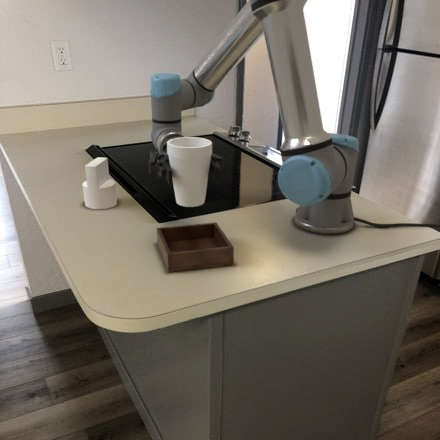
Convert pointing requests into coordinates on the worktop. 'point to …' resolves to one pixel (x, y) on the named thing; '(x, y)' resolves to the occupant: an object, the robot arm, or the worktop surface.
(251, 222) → the worktop surface
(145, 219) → the worktop surface
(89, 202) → the base with upright slab
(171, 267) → the caddy
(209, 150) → the foam cup
